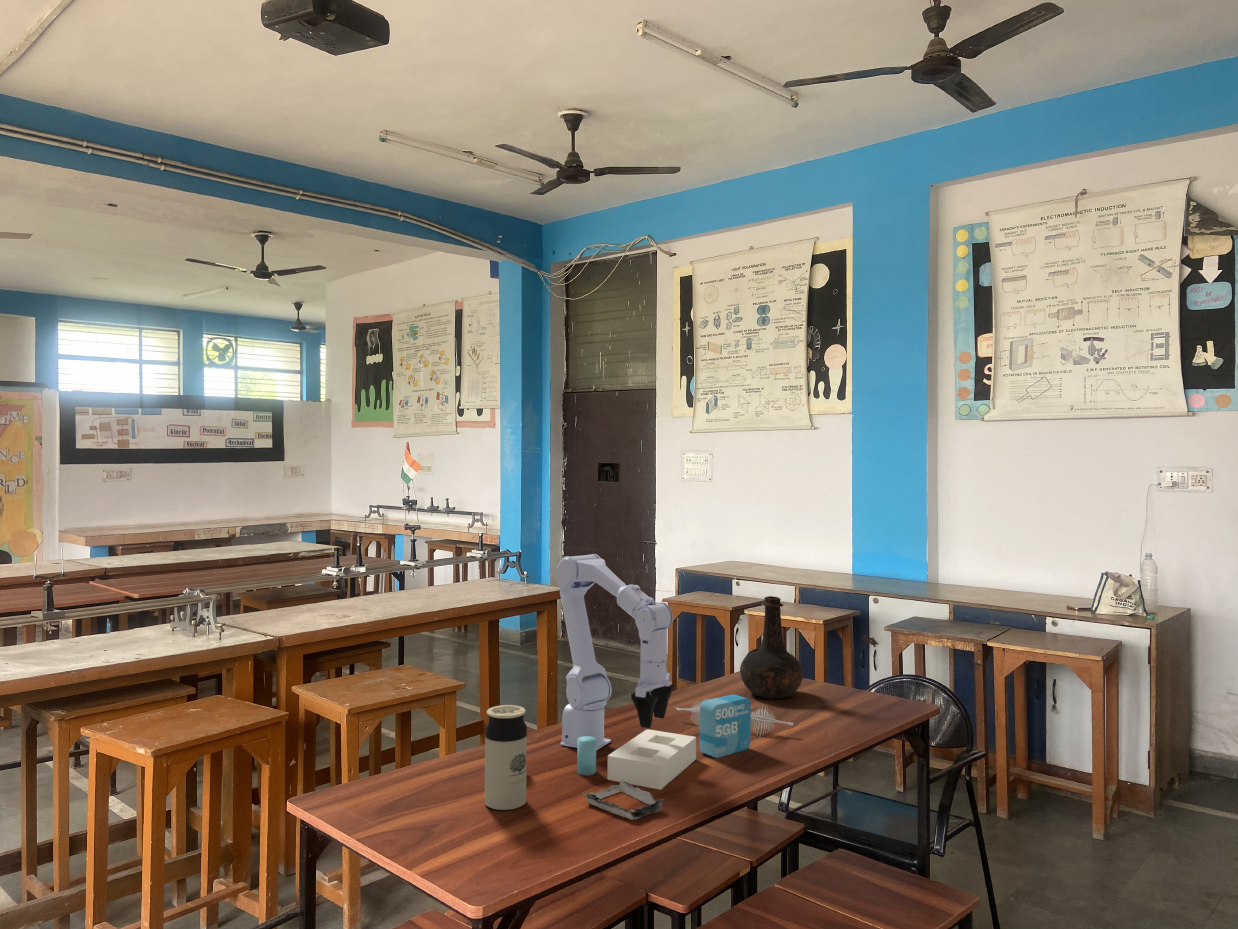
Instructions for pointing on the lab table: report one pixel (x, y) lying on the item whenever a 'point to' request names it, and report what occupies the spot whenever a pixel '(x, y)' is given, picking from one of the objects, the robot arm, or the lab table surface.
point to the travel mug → (505, 757)
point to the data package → (725, 725)
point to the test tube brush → (751, 717)
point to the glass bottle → (771, 659)
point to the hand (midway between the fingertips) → (652, 722)
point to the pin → (586, 755)
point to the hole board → (652, 758)
